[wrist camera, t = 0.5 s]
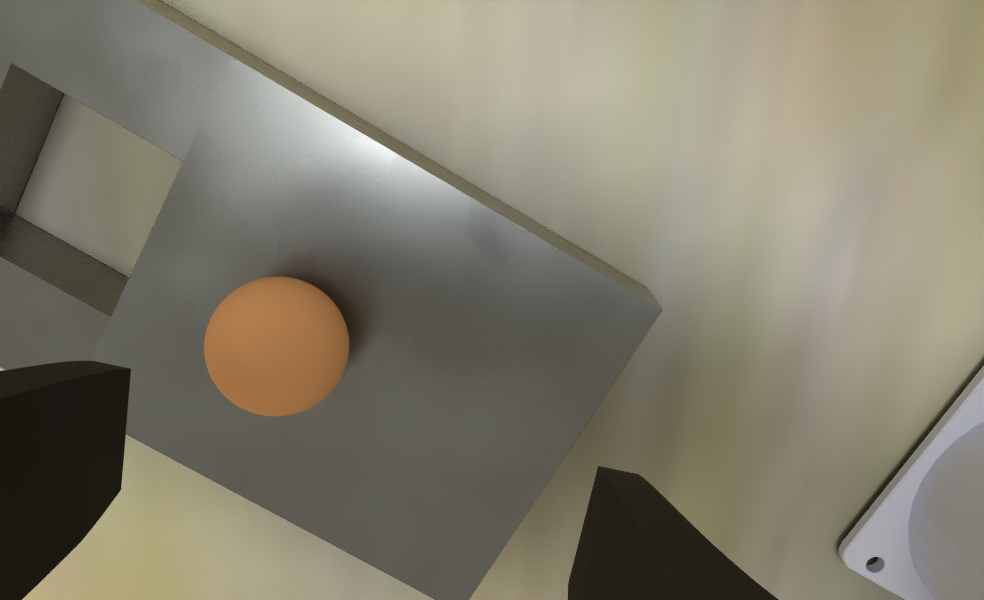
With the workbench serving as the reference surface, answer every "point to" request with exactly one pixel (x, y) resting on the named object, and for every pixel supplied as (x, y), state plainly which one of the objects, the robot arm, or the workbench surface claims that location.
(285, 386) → the ball
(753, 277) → the workbench surface
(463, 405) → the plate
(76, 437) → the robot arm
